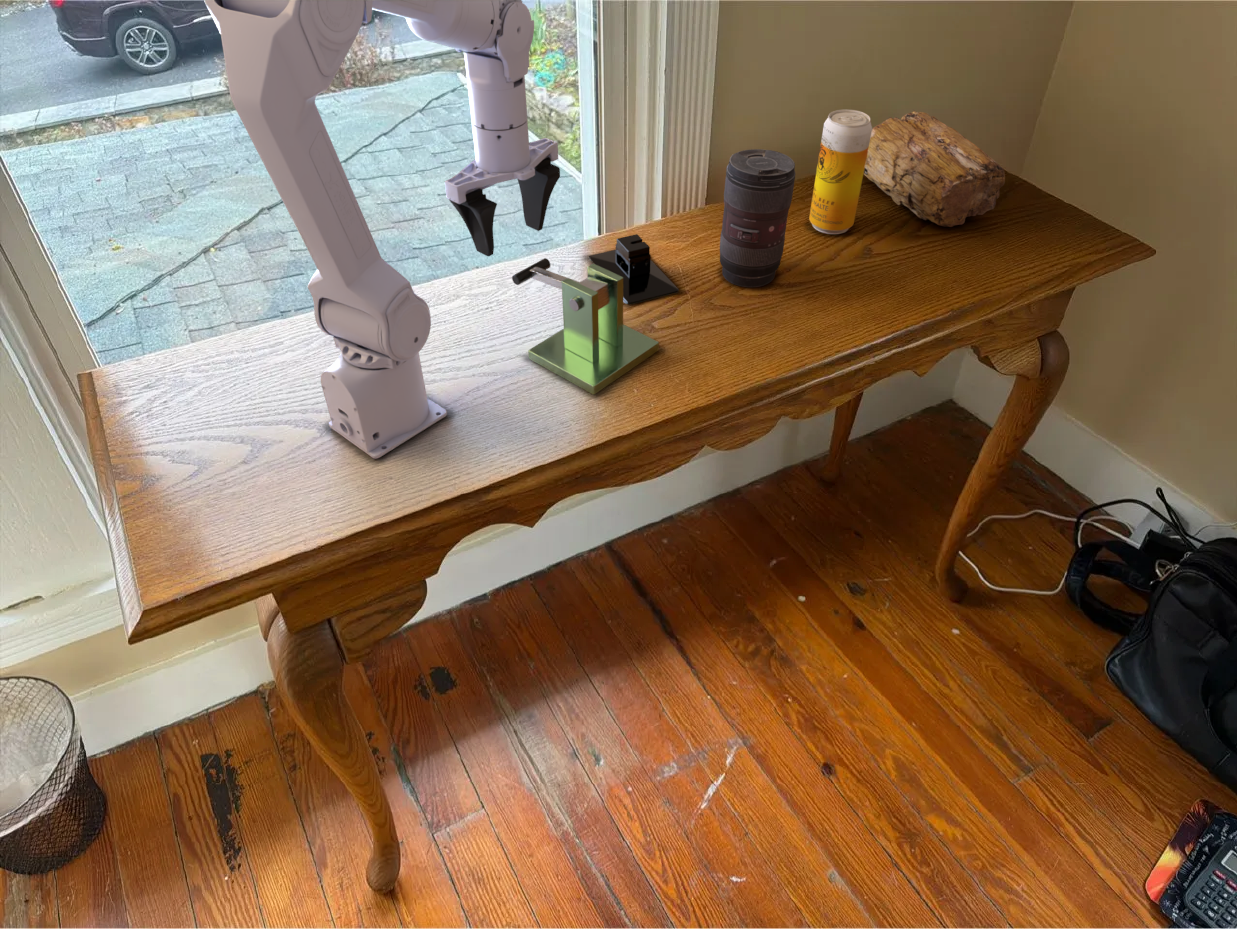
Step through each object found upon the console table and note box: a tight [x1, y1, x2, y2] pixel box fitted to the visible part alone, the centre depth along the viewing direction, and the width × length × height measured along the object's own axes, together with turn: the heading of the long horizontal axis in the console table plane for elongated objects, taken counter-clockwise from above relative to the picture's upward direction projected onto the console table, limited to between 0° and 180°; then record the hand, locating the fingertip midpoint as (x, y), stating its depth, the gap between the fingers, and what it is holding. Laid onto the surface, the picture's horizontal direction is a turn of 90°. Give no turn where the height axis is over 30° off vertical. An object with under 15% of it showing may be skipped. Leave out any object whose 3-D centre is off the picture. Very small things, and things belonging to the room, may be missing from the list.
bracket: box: [527, 263, 660, 396], centre depth 99 cm, size 10×11×10 cm
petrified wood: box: [863, 110, 1006, 228], centre depth 127 cm, size 19×13×10 cm
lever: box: [511, 257, 610, 310], centre depth 99 cm, size 12×5×2 cm, turn 49°
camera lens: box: [719, 148, 796, 288], centre depth 110 cm, size 8×8×15 cm
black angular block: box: [588, 233, 680, 306], centre depth 113 cm, size 12×7×5 cm, turn 25°
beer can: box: [808, 108, 873, 235], centre depth 120 cm, size 6×6×15 cm
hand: (510, 239), depth 102 cm, fingers open, 7 cm apart
